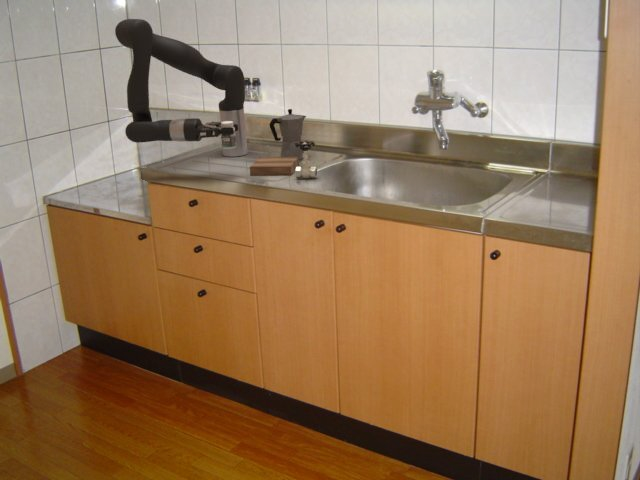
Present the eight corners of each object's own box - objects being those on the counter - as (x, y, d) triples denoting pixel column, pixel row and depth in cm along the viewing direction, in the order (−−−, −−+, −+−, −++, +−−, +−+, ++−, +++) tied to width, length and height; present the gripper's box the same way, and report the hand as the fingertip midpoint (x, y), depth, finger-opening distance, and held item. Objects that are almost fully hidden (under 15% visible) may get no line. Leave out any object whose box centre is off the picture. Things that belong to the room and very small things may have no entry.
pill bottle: (219, 148, 243) (216, 122, 240) (229, 145, 246) (227, 120, 243) (229, 149, 240) (226, 124, 237) (239, 146, 243) (237, 121, 240)
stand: (260, 165, 260) (259, 157, 259) (298, 165, 258) (298, 156, 257) (250, 175, 247) (249, 167, 246) (291, 175, 245) (290, 166, 244)
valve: (314, 181, 237) (312, 144, 233) (294, 181, 238) (292, 144, 234) (318, 176, 243) (316, 140, 239) (299, 176, 244) (297, 140, 240)
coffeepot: (300, 153, 276) (297, 105, 270) (315, 157, 268) (312, 108, 262) (265, 160, 268) (262, 111, 262) (279, 164, 260) (275, 114, 254)
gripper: (177, 123, 236) (228, 122, 233) (191, 114, 249) (240, 113, 246) (180, 146, 238) (230, 145, 235) (194, 136, 251) (242, 135, 249)
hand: (235, 129), depth 241 cm, fingers closed on pill bottle, 4 cm apart
